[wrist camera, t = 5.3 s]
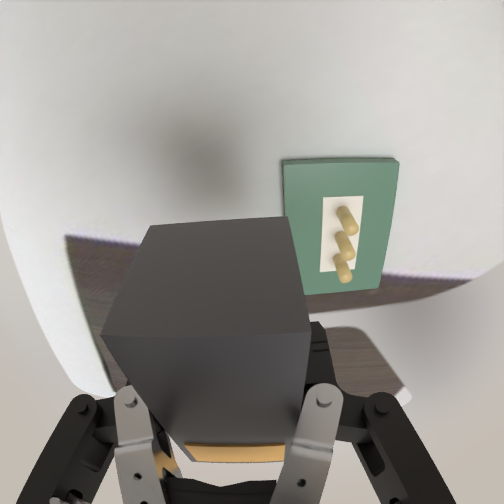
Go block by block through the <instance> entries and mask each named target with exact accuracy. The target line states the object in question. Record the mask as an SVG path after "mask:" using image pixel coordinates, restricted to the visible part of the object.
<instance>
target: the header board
mask: <svg viewBox="0 0 504 504" xmlns="http://www.w3.org/2000/svg"><path fill="white" fill-rule="evenodd" d="M282 163H283V186H284V213H285V216H288V219H289V224H290V228H291V233H292V237H293V242H294V247H295V251H296V256H297V261H298V265H299V270H300V275H301V280H302V285H303V290H304V295H311V294H322V293H333V292H343V291H353V290H363V289H372V288H378V287H379V283H380V278H381V274H382V269H383V265H384V260H385V255H386V250H387V245H388V239H389V234H390V228H391V222H392V216H393V210H394V203H395V196H396V189H397V181H398V172H399V162H398V161H397V160H395V159H394V158H329V159H301V160H282Z"/></svg>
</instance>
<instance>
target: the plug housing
mask: <svg viewBox="0 0 504 504" xmlns="http://www.w3.org/2000/svg"><path fill="white" fill-rule="evenodd" d="M311 333H312V331H311V326H310V320H309V315H308V310H307V305H306V300H305V295H304V290H303V285H302V280H301V275H300V270H299V265H298V261H297V256H296V251H295V247H294V242H293V237H292V233H291V228H290V224H289V219H288V216H284V217H266V218H248V219H232V220H217V221H203V222H190V223H177V224H164V225H152V226H150V227H149V229H148V231H147V233H146V235H145V237H144V239H143V241H142V243H141V245H140V247H139V249H138V251H137V253H136V255H135V257H134V259H133V261H132V263H131V265H130V267H129V270H128V272H127V274H126V276H125V278H124V280H123V282H122V285H121V287H120V289H119V291H118V294H117V296H116V298H115V300H114V303H113V305H112V307H111V310H110V312H109V314H108V317H107V319H106V321H105V324H104V326H103V329H102V331H101V334H100V336H101V338H102V339H103V341H104V343H105V344H106V346H107V348H108V349H109V351H110V353H111V354H112V356H113V357H114V359H115V361H116V362H117V364H118V365H119V367H120V368H121V370H122V371H123V373H124V374H125V376H126V377H127V379H128V380H129V382H130V383H131V385H132V386H133V388H134V389H135V391H136V392H137V393H138V395H139V396H140V398H141V399H142V400H143V402H144V403H145V405H146V406H147V407H148V409H149V410H150V411H151V413H152V414H153V415H154V417H155V418H156V419H157V420H158V422H159V423H160V424H161V426H162V427H163V428H164V429H165V431H166V432H167V433H168V434H169V436H170V437H171V438H172V439H173V440H174V442H175V443H176V444H177V445H178V446H179V447H180V449H181V450H182V451H183V452H184V453H185V454H186V455H187V457H188V458H189V459H190V460H191V461H193V462H211V463H262V462H263V463H264V462H282V461H285V459H286V456H287V453H288V450H289V447H290V445H291V443H292V440H293V437H294V434H295V431H296V428H297V424H298V421H299V418H300V412H301V406H302V399H303V393H304V386H305V379H306V372H307V365H308V357H309V349H310V341H311Z"/></svg>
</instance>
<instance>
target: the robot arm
mask: <svg viewBox="0 0 504 504" xmlns="http://www.w3.org/2000/svg"><path fill="white" fill-rule="evenodd" d="M310 326H311V331H312V333H311V341H310V349H309V357H308V365H307V372H306V379H305V386H304V393H303V399H302V406H301V412H300V418H299V421H298V424H297V428H296V431H295V434H294V437H293V440H292V443H291V445H290V447H289V450H288V453H287V456H286V459H285V462H284V465H283V468H282V471H281V473H280V476H279V479H278V482H277V483H276V480H266V481H247V482H242V483H237V484H233V485H228V486H223V487H219V486H215V485H211V484H207V483H204V482H201V481H197V480H194V479H186V478H183V477H182V474H181V471H180V469H179V467H178V465H177V463H176V461H175V458H174V454H173V451H172V447H171V443H170V439H169V435H168V433H167V432H166V431H165V429H164V428H163V427H162V426H161V424H160V423H159V422H158V420H157V419H156V418H155V417H154V415H153V414H152V413H151V411H150V410H149V409H148V407H147V406H146V405H145V403H144V402H143V400H142V399H141V398H140V396H139V395H138V393H137V392H136V391H135V389H134V388H133V386H132V385H131V383H130V382H129V380H128V381H127V384H126V386H125V387H123V388H121V389H120V390H119V391H118V392H117V393H116V395H115V396H114V397H110V398H105V399H100V400H95V399H94V398H93V397H92V396H90V395H88V394H81V395H78V396H76V397H75V398H74V399H73V400H72V401H71V402H70V404H69V406H68V407H67V409H66V411H65V413H64V414H63V416H62V418H61V419H60V421H59V423H58V424H57V426H56V428H55V430H54V431H53V433H52V435H51V437H50V438H49V440H48V442H47V444H46V446H45V447H44V449H43V451H42V453H41V455H40V457H39V459H38V460H37V462H36V464H35V466H34V468H33V470H32V472H31V474H30V476H29V478H28V480H27V482H26V484H25V486H24V488H23V490H22V492H21V494H20V496H19V498H18V500H17V502H16V504H91V503H92V501H93V499H94V497H95V495H96V493H97V491H98V488H99V486H100V484H101V482H102V480H103V478H104V476H105V474H106V472H107V469H108V468H109V465H110V463H111V461H112V459H113V457H114V455H115V462H116V468H117V474H118V479H119V484H120V489H121V494H122V499H123V503H124V504H319V502H320V499H321V496H322V492H323V489H324V485H325V482H326V479H327V475H328V471H329V468H330V464H331V460H332V455H333V445H334V441H335V440H339V441H346V442H351V443H352V445H353V447H354V449H355V451H356V453H357V455H358V457H359V459H360V461H361V463H362V465H363V467H364V469H365V471H366V474H367V476H368V478H369V480H370V482H371V484H372V486H373V488H374V490H375V492H376V494H377V496H378V498H379V500H380V502H381V504H456V502H455V500H454V499H453V496H452V495H451V493H450V491H449V489H448V487H447V486H446V484H445V482H444V480H443V478H442V476H441V474H440V473H439V471H438V469H437V467H436V466H435V464H434V462H433V460H432V459H431V457H430V455H429V453H428V451H427V450H426V448H425V446H424V444H423V443H422V441H421V439H420V438H419V436H418V434H417V433H416V431H415V429H414V427H413V426H412V424H411V422H410V421H409V419H408V418H407V416H406V414H405V412H404V411H403V409H402V407H401V406H400V404H399V402H398V401H397V399H396V398H395V397H394V396H393V395H391V394H389V393H386V392H378V393H374V394H372V395H371V396H369V397H368V398H367V397H360V396H354V395H350V394H347V393H346V392H344V391H343V390H341V388H340V387H339V386H338V384H337V382H336V379H335V374H334V369H333V364H332V359H331V354H330V351H329V345H328V342H327V336H326V332H325V329H324V328H323V327H322V326H321V324H320V323H319V322H318V321H317V322H310Z"/></svg>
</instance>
